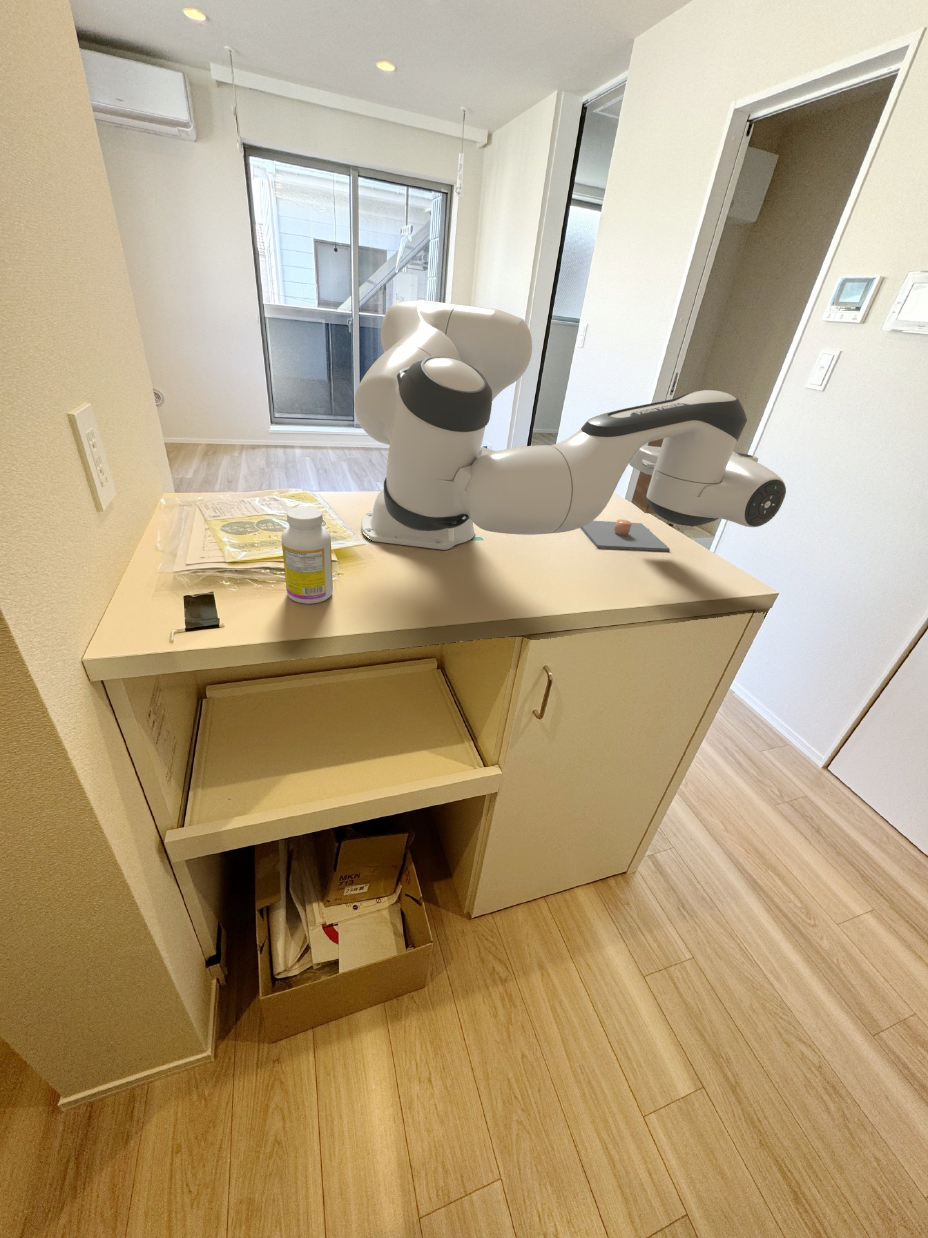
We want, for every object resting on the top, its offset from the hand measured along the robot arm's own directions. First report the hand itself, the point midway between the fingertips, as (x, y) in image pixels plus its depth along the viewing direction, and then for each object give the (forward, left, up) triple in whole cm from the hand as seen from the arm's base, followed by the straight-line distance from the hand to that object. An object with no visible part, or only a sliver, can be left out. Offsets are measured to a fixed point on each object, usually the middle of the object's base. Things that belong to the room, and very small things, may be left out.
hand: (667, 451), depth 97 cm
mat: (-2, +5, -19) cm, 20 cm away
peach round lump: (-2, +5, -19) cm, 20 cm away
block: (0, -1, -11) cm, 11 cm away
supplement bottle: (-64, -24, -20) cm, 71 cm away
